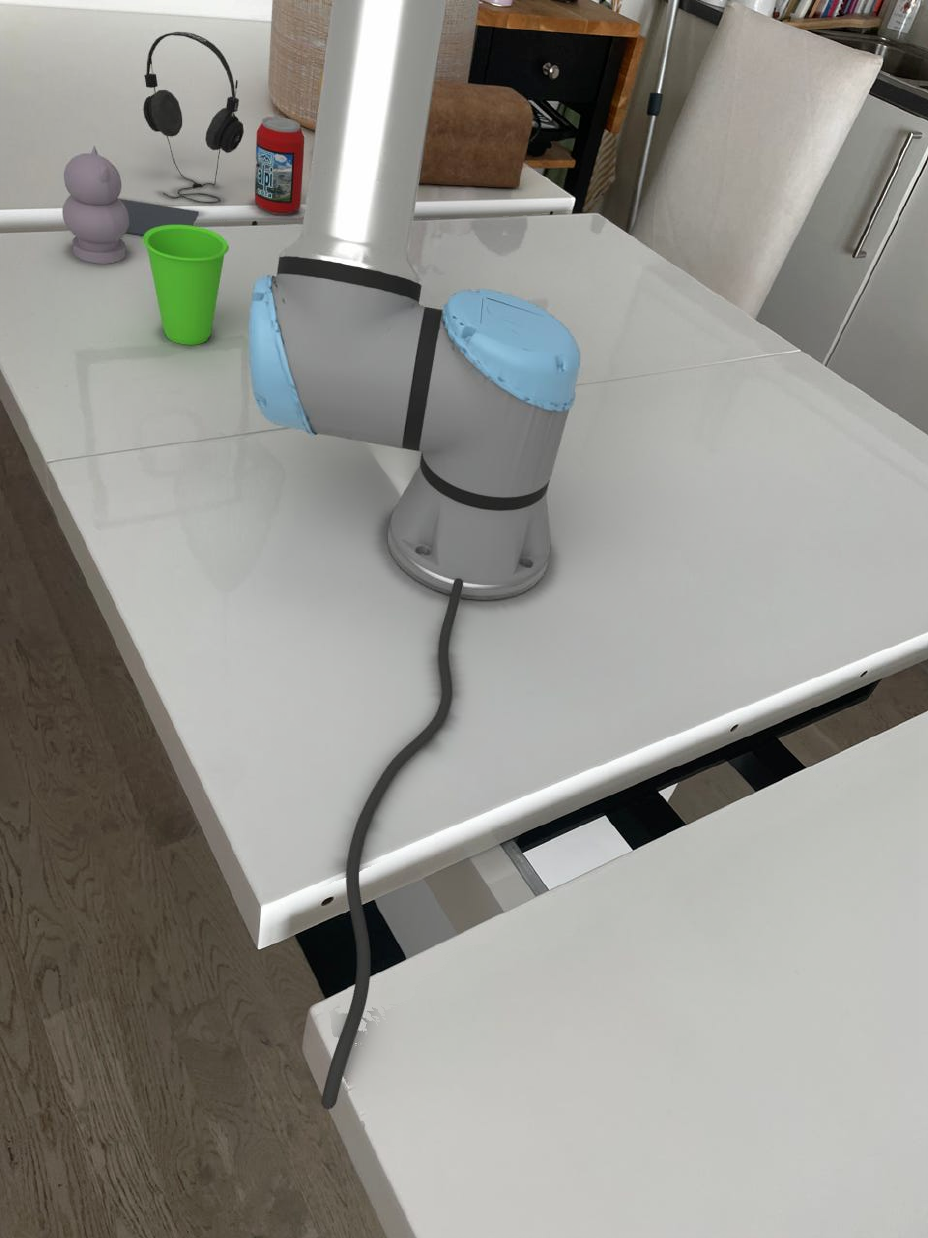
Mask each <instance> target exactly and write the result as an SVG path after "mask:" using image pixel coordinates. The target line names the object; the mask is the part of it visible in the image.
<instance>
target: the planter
mask: <svg viewBox="0 0 928 1238" xmlns="http://www.w3.org/2000/svg"><path fill="white" fill-rule="evenodd" d="M271 1H272V4H271V21H270V36H269V37H270V39H269V56H268V57H269V58H268V59H269V60H268V78H267V79H268V81H267V83H268V84H267V85H268V96H269V98H270V100H271V101H272V103H273V104H274V105H275V106H276V107H277V109H278V110H279V111H280V112H281V113H282V114H283V115H285V116H286V118H288V119H291V120H294V121H296V122H298V123H299V124H300V127H303V128H306V129H308V130H311V131H313V132H315V130H316V121H317V111H318V86H319V78H320V74H321V73H322V72H323V70H324V62H325V55H326V47H327V40H328V32H329V24H330V17H331V9H332V2H333V0H271ZM479 6H480V0H447V5H446V11H445V18H444V24H443V31H442V37H441V44H440V50H439V57H438V63H437V69H436V76H435V80H436V81H452V82H461V83H469V77H470V68H471V63H472V57H473V56H472V55H473V48H474V41H475V34H476V27H477V20H478V14H479V13H478V12H479Z"/></svg>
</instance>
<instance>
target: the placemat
mask: <svg viewBox="0 0 928 1238" xmlns="http://www.w3.org/2000/svg"><path fill="white" fill-rule="evenodd" d="M118 199H119V200H120V201H121V202H122V203H123V204H124V205H125V207H126V209H127V211H128V215H129V227H128V229H127V231H126V233H125V234H128V235H129V234H130V235H137V236H144V234H145V233H146V232H147V231H148V230H151V229H153V228H155V227H159V226H165V225H189V226H194V224H195V222H196V220H197V217H198V215H199V213H200V211H199V210H192V209H185V208H178V207H173V206H166V205H161V204H154V203H147V202H143V201H142V202H141V201H134V200H128V199H122V198H118Z"/></svg>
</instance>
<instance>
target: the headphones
mask: <svg viewBox="0 0 928 1238" xmlns="http://www.w3.org/2000/svg"><path fill="white" fill-rule="evenodd" d="M170 36H177V37H178V36H179V37H185V38H188V39H190V40H194V41H196V42H198V43H200V44H201V45H203V46H205V47H206V48H207V49H209V50H210V51H211V52H212V53H214V54H215V56H216V57H217V58H218V60H219V62H221V64H222V66H223V67H224V70H225V71H226V74H227V78H228V81H229V84H230V90H231V96H228V97H227V99H226V106H225V107H223V108H221V109H220V110H218V112H217V113H215V115H214V116H213V117H212V119H211V121H210V123H209V125H208V127H207V129H206V132H205V138H204V139H205V140H204V141H205V144H206V146H207V148H208V149H210V150H212V151H218V155H217V161H219V160H220V153H221V150H222V152H225V153H226V154H229V153H232V152H233V151H235V150H236V149H237V148H238V146H239V145H240V143H241V142H242V139H243V136H244V131H245V130H244V124H243V123H242V121H240V120H239V118H238V117H237V116H236V114H235V113H236V112H238V110H239V104H240V103H239V102H240V99H239V98H237V89H238V83H239V82H238V81H239V80H237V79H236V80H235V83H234V77H233V73H232V71H231V68H230V65H229V63H228V61H227V59H226V57H225V55H224V54H223V52H221V50H220V49H219V48H218V47H217V46H216V45H215V44H213V43H212V42H211V41H209V40H208V39H207V38H205V37H203V36H201V35H198V34H195V33H192V32H187V31H174V32H169V33H165V34H163V35H160V36H159V37H157V38H156V39H155V40H154V41H153V43H152V44H151V47H150V48H149V50H148V54H147V60H146V74H144V82H145V87H146V88H149V89H152V88H153V91H154V92H153V94H152V95H151V94H150V95H149V96H147V97H146V98H145V100H144V102H143V108H142V110H143V117H144V119H145V122H146V124H147V125H148V127H149V128H150V129H151V131H154V132H155V133H156V132H159V133H161V134H162V135H164V136H165V137H166V138H167V142H168V145H169V149H170V152H171V156H172V161H173V163H174V166H175V167H176V170H177V171H178V173H179V175H180V176H181V177H182V178H184V179H186V180H188V181H190V182H192V183H193V184H192V186H191V187H183V188H180V189H178V191H177V194H178V196H172V195H168V194H166V193H165V192H163V195H164V196H167V197H169V198H172V199H178V198H180V197H181V198H185V199H188V200H191V201H194V202H196V203H203V204H214V203H219V202H221V198H219V197H218V196H214V195H211V194H207V193H201V192H199V193H197V192H196V193H194V195H202V196H209V197H211V198H216V199H217V201H199V200H196V199H193V198H188V197H187V196H189V195H190V196H191V195H192V193H180V191H182V190H188V189H196V188H202V187H203V186H205V185H212V186H215V185H216V180H217V175H218V169H219V168H218V167H219V162H217V164H216V170H215V176H214V183H212V182H208V183H199V182H196V181H194V180H193V179H189V178H188V177H185V176H184V175H183V174H182V172H181V171H180V170H179V167H178V166H177V164H176V160H175V159H174V155H173V151H172V146H171V142H170V139H169V137H176V136H178V134H179V133H180V131H181V129H182V127H183V113H182V109H181V106H180V103H179V100H178V99H177V98H176V96H175V95H174V94H173V92H171V91H169V90H168V89H158V90H157V91H156V87H157V88H158V79H157V74H156V73H154V69H153V60H152V59H153V58H152V57H153V54H154V51H155V50H156V48H157V47H158V44H160V42H161V41H163V40H164V39H165V38H166V37H170ZM150 71H151V73H150Z"/></svg>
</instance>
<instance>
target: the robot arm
mask: <svg viewBox="0 0 928 1238" xmlns="http://www.w3.org/2000/svg"><path fill="white" fill-rule="evenodd" d="M446 5H447V0H333V2H332V9H331V17H330V24H329V32H328V40H327V47H326V55H325V62H324V70H323V77H322V85H321V92H320V100H319V108H318V115H317V123H316V130H315V131H314V138H313V145H312V154H311V161H310V171H309V176H308V184H307V190H306V191H307V192H306V199H305V206H304V215H303V222H302V229H301V234H300V236H299V238H297V240H295V241H293V243H291V244H290V245H289V246H287V247H286V248H284V249H283V250H282V251H281V252H280V253H279V256H278V264H277V270H276V271H277V272H276V275H272V274H267V275H265V276H261V277H258V279H257V280H256V281H255V283H254V286H253V289H252V299H251V304H250V309H249V319H248V357H249V358H248V359H249V371H250V373H249V374H250V380H251V387H252V388H251V389H252V393H253V398H254V401H255V404H256V407H257V409H258V411H259V412H260V414H261V415H262V417H264V419H265V420H266V421H268V422H270V423H272V424H273V425H276V426H280V427H285V428H290V429H294V430H298V431H303V432H306V433H308V434H309V435H310V436H317V435H322V436H328V437H334V438H339V439H346V440H351V441H357V442H363V443H369V444H374V445H380V446H386V447H391V448H397V449H403V450H405V449H406V450H411V451H415V452H420V453H421V454H420V460H419V465H418V467H417V469H416V470H415V472H414V474H413V476H412V477H411V479H410V480H409V483H408V484H407V485H406V488H405V489H404V491H403V492H402V494H401V497H400V498H399V499H398V501H397V503H396V505H395V506H394V508H393V510H392V512H391V515H390V518H389V524H388V525H389V526H388V532H387V544H388V548H389V551H390V553H391V555H392V557H393V559H394V561H395V562H396V563H397V564H398V565H399V567H400V568H401V569H402V570H403V571H404V572H405V573H406V574H408V575H409V576H410V577H412V578H413V579H414V580H416V581H417V582H418V583H420V584H422V585H424V586H426V587H428V588H429V589H432V590H435V591H436V592H439V593H440V592H441V593H443V594H445V595H449V600H448V604H447V606H446V607H447V608H446V612H445V615H444V618H443V622H442V626H441V629H440V634H439V639H438V646H437V647H438V649H437V658H438V659H437V660H438V667H439V674H440V675H439V676H440V682H441V683H440V684H441V697H440V702H439V705H438V708H437V710H436V712H435V715H434V716H433V718H432V720H431V721H430V722H429V724H428V725H427V726H426V727H425V728H424V729H423V730H422V731H421V732H420V733H419V734H418V735H417V736H415V738H414V739H412V741H410V742H409V743H408V744H406V745H405V746H404V748H402V750H400V752H398V753H397V755H395V757H393V759H392V760H391V761H390V763H389V764H388V765H387V766H386V768H385V769H384V771H383V772H382V773H381V775H380V777H379V779H378V781H377V782H376V784H375V785H374V787H373V789H372V791H371V792H370V794H369V795H368V798H367V799H366V801H365V804H363V807H362V810H361V812H360V814H359V817H358V819H357V821H356V824H355V827H354V830H353V832H352V833H353V834H352V837H351V840H350V845H349V850H348V855H347V860H346V869H345V870H346V871H345V886H346V894H347V895H346V896H347V897H346V898H347V903H348V908H349V914H350V919H351V924H352V929H353V934H354V941H355V947H356V973H355V984H354V989H353V993H352V998H351V1002H350V1005H349V1009H348V1012H347V1016H346V1018H345V1021H344V1024H343V1026H342V1029H341V1033H340V1035H339V1038H338V1040H337V1043H336V1046H335V1050H334V1053H333V1055H332V1057H331V1058H332V1059H331V1062H330V1064H329V1069H328V1072H327V1075H326V1079H325V1083H324V1087H323V1091H322V1095H321V1105H322V1107H323V1109H325V1110H328V1111H329V1110H331V1109H333V1108H334V1107H335V1106H336V1104H337V1102H338V1097H339V1093H340V1089H341V1085H342V1081H343V1077H344V1074H345V1071H346V1070H345V1069H346V1067H347V1063H348V1061H349V1057H350V1055H351V1051H352V1048H353V1046H354V1042H355V1039H356V1036H357V1034H358V1031H359V1028H360V1026H361V1025H360V1024H361V1022H362V1019H363V1016H364V1012H365V1008H366V1004H367V999H368V995H369V990H370V982H371V968H372V960H371V945H370V937H369V932H368V931H369V930H368V926H367V921H366V917H365V911H364V908H363V907H364V906H363V902H362V897H361V890H360V889H361V888H360V868H361V859H362V853H363V848H364V844H365V840H366V836H367V832H368V829H369V827H370V823H371V821H372V819H373V816H374V814H375V812H376V810H377V808H378V806H379V804H380V802H381V801H382V798H383V796H384V795H385V793H386V791H387V789H388V788H389V786H390V784H391V783H392V781H393V779H394V778H395V776H396V775H397V773H398V772H399V771H400V769H402V767H403V766H404V765H405V763H407V762H408V760H409V759H410V758H412V757H413V756H414V755H415V754H416V753H417V752H418V751H419V750H420V749H422V747H424V746H425V745H426V744H427V743H428V742H429V741H430V740H431V739H433V737H434V736H435V735H436V733H438V731H439V730H440V728H441V727H442V725H443V724H444V723H445V721H446V719H447V717H448V714H449V712H450V709H451V705H452V700H453V682H452V681H453V680H452V674H451V669H450V668H451V667H450V661H449V648H450V647H449V646H450V639H451V634H452V630H453V627H454V622H455V620H456V616H457V611H458V609H459V608H458V607H459V604H460V599H468V600H476V601H477V600H479V601H484V600H485V601H490V600H500V599H501V600H502V599H507V598H511V597H514V596H517V595H520V594H522V593H525V592H526V591H528V590H530V589H531V588H533V587H535V585H536V584H538V583H539V581H540V580H542V579H543V576H544V574H545V572H546V570H547V567H548V563H549V559H550V556H551V552H552V538H551V528H550V518H549V508H548V497H547V496H548V495H547V493H548V489H549V485H550V481H551V478H552V475H553V470H554V467H555V463H556V460H557V457H558V452H559V449H560V445H561V441H562V438H563V434H564V431H565V426H566V424H567V419H568V416H569V413H570V409H571V408H572V407H573V405H574V403H575V401H576V387H577V383H578V377H579V372H580V367H581V351H580V348H579V344H578V343H577V340H576V338H575V337H574V335H573V334H572V332H571V331H570V330H569V329H568V327H567V326H566V325H565V324H563V323H562V322H561V321H560V320H558V319H557V318H556V317H555V316H554V315H553V314H551V313H550V312H548V311H547V310H545V309H543V308H542V307H540V306H538V305H536V304H535V303H532V302H530V301H529V300H525V299H523V298H520V297H517V296H514V295H513V294H510V293H509V294H508V293H506V292H501V291H498V290H492V289H485V288H479V289H476V290H472V289H464V290H461V291H458V292H455V293H454V294H452V295H451V296H450V297H449V298H448V300H447V302H445V304H444V305H443V308H442V309H439V308H434V307H429V306H423V305H421V304H420V300H421V299H420V298H421V293H422V287H423V281H422V279H421V277H420V276H419V274H418V272H417V271H416V270H415V268H414V267H413V265H412V264H411V262H410V261H409V249H410V242H411V238H412V237H411V236H412V229H413V224H414V218H415V217H414V216H415V210H416V205H417V199H418V190H419V184H420V183H419V179H420V172H421V166H422V160H423V153H424V147H425V140H426V134H427V127H428V121H429V114H430V108H431V102H432V95H433V89H434V82H435V76H436V69H437V63H438V57H439V50H440V44H441V37H442V31H443V24H444V18H445V11H446Z"/></svg>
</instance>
